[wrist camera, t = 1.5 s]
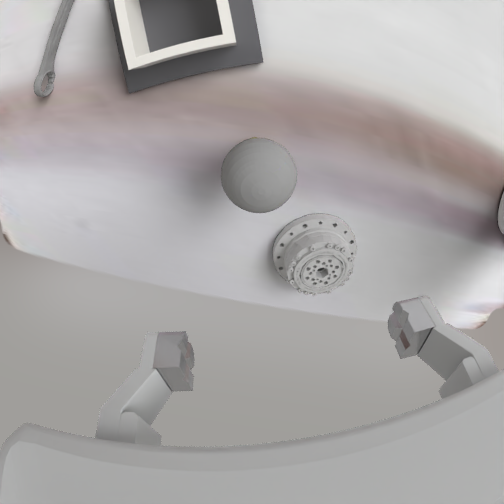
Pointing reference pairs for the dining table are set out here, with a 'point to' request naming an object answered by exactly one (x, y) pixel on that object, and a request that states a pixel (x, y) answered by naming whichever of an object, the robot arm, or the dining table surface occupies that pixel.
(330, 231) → the mechanical component
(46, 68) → the combination wrench
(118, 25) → the lamp base
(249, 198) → the light bulb
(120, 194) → the dining table surface
